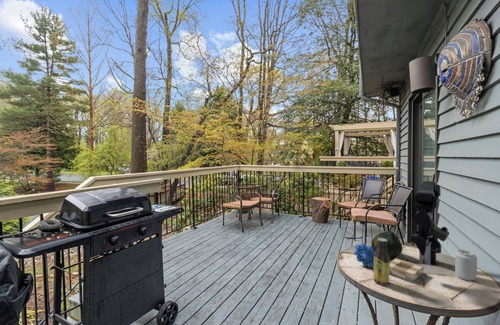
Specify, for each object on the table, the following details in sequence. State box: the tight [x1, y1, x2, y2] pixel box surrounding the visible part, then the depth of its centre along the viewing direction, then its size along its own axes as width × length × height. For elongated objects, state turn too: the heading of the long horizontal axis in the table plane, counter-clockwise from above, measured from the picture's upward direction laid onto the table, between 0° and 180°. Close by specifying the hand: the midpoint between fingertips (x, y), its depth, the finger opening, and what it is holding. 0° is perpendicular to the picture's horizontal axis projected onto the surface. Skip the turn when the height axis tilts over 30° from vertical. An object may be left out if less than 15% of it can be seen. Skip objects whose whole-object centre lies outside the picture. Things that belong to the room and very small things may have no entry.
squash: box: [370, 230, 403, 259], centre depth 140 cm, size 14×15×15 cm
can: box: [454, 249, 478, 282], centre depth 114 cm, size 8×8×12 cm
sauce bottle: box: [372, 238, 391, 286], centre depth 111 cm, size 6×6×20 cm
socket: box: [389, 257, 428, 286], centre depth 119 cm, size 12×15×4 cm
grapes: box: [353, 242, 375, 268], centre depth 126 cm, size 12×7×12 cm, turn 59°
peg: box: [418, 241, 431, 266], centre depth 112 cm, size 4×4×10 cm
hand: (424, 254), depth 113 cm, fingers closed on peg, 4 cm apart
